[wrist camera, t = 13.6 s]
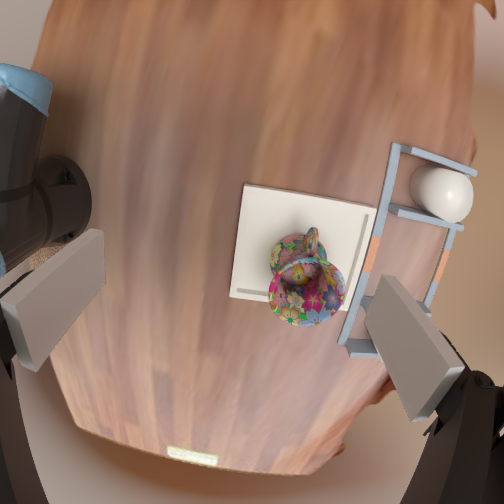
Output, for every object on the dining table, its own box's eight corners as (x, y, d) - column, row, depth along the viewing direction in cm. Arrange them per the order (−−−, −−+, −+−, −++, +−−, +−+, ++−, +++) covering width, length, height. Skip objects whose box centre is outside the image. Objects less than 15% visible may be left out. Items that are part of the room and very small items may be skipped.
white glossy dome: (405, 203, 42) (430, 217, 34) (414, 159, 39) (442, 166, 32) (439, 212, 42) (466, 227, 35) (448, 171, 39) (477, 179, 32)
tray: (230, 290, 48) (229, 296, 46) (244, 183, 42) (244, 185, 40) (344, 304, 48) (347, 311, 47) (372, 205, 42) (377, 209, 40)
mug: (322, 289, 47) (336, 328, 37) (263, 283, 47) (264, 324, 37) (336, 215, 42) (358, 240, 32) (272, 207, 42) (276, 231, 32)
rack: (336, 342, 51) (341, 356, 48) (391, 142, 38) (403, 143, 35) (409, 345, 52) (416, 358, 48) (469, 169, 39) (483, 173, 35)
